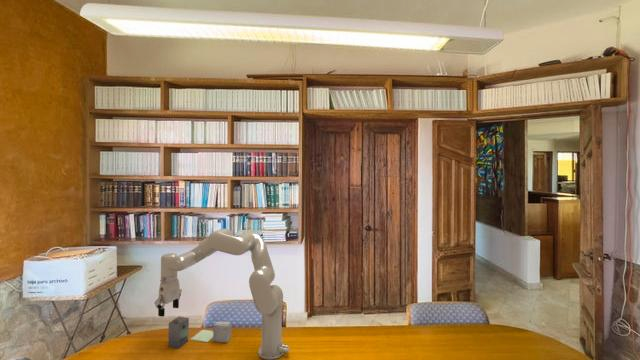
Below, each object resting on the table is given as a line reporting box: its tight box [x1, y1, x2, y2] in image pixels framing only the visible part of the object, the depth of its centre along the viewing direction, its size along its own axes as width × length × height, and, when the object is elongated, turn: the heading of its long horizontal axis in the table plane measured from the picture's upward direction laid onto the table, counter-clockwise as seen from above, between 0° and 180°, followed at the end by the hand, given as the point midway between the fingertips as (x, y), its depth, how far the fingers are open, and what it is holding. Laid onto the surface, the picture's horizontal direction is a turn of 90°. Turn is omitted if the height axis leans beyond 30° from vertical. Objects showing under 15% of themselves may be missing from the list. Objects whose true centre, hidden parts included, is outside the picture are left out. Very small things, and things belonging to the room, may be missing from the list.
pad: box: [189, 329, 213, 343], centre depth 153 cm, size 10×10×1 cm
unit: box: [167, 316, 190, 350], centre depth 145 cm, size 6×7×12 cm
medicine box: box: [212, 321, 232, 344], centre depth 149 cm, size 8×4×9 cm, turn 84°
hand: (168, 311), depth 147 cm, fingers open, 9 cm apart
